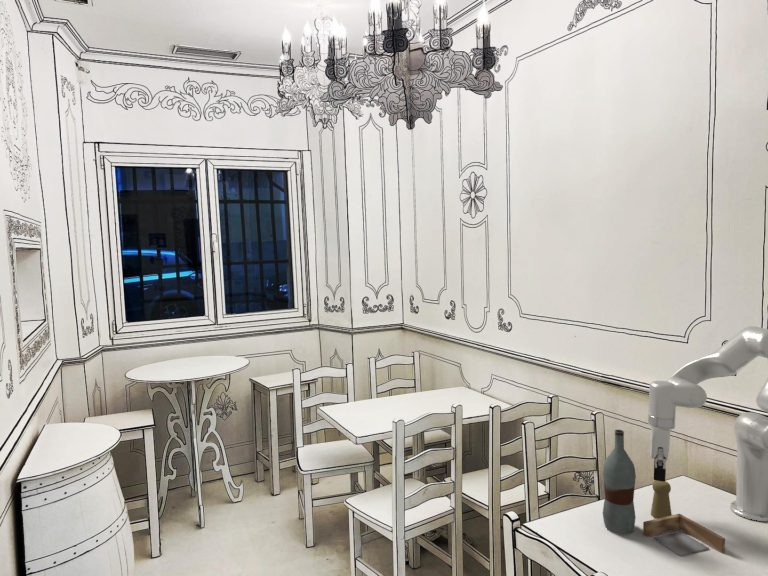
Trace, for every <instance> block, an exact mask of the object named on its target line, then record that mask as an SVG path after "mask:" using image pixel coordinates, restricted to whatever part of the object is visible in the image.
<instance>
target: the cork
mask: <svg viewBox="0 0 768 576" xmlns="http://www.w3.org/2000/svg"><path fill="white" fill-rule="evenodd" d="M652 490H653V497H652V503H651V509H650V516H651V517H652V518H654V519H658V518H663V517H667V516H671V515H673V514H672V509H671V501H670V493H671V490H672V487H671V484H670V483H669V482H668V481H666V480H665V482H663V481H657V480H654V481H653V482H652Z"/></svg>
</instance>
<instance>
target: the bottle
mask: <svg viewBox="0 0 768 576" xmlns="http://www.w3.org/2000/svg"><path fill="white" fill-rule="evenodd" d="M602 476H603V477H602V478H603V487H604V489H603V490H604V501H603V508H602V519H603V523H604V527H605V529H606V528H607V529H606V530H607V531H609V532H611V533H613V534H618V535H629V534H630V535H631V533H633V531H634V528H635V524H636V511H635V503H634V497H635V486H636V479H637V476H636V467H635V464H634V462H633V461H632V459H631V457H630V456H629V454H628V453H627V452H626V450H625V431H624V430H622V429H615V430H614V448H613V450H611V452H610V453H609V455H608V456H607V457H606V459H605V461H604V464H603V468H602Z"/></svg>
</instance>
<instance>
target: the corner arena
mask: <svg viewBox="0 0 768 576" xmlns="http://www.w3.org/2000/svg"><path fill="white" fill-rule="evenodd" d="M642 524H643V525H642V527H643V528H642V529H643V531H642V534H643V535H642V536H644V537H645V538H648V537H652V536H653V537H652V539H653V540H654V541H656V542H657V541H658V543H659V544H661V545H663V546H664V547H665V548H667V549H669V550H670V551H672V552H674V553H675V554H676V555H678V556H680V557H684V556H688V555H692V554H696V553H700V552H704V551H708V550H710V548H712V549H714V550H715V551H717V552H719V553H721V554H723V553H725V552H726V538H725V537H723V536H722V535H720V534H718V533H717V532H714V531H713V530H710V529H709V528H707V527H705V526H704V525H701V524H699V523H698V522H696V521H694V520H692V519H690V518H688V517H686V516H685V515H683V514H681V513H676V514H672V515H671V516H667V517H663V518H658V519H656V518H654V519H649V520H645V521H643V522H642ZM677 530H678V531H677ZM680 530H681V531H680ZM672 531H674V532H672ZM668 532H671V533H668ZM664 533H666V534H664ZM660 534H661V535H660ZM692 537H693V538H692ZM694 538H695V539H694ZM699 541H700V542H699ZM701 541H702V543H701ZM703 542H704V544H703ZM708 545H709V546H708ZM709 547H710V548H709Z"/></svg>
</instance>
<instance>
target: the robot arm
mask: <svg viewBox="0 0 768 576" xmlns="http://www.w3.org/2000/svg"><path fill="white" fill-rule="evenodd" d="M757 357H762V358H765V359H768V328H764V327H759V326H747V327H746V326H745V327H744V328H743V329H741V330H740V331H738V332H737V333H736V334H735V335H734V336H732V337H731V338H730V339H728V341H726V342H725V343H724V344H723V345H721V346H720V347H719V348H717V349H716V350H715V351H714V352H712V353H711V354H709V355H705V356H703V357H701V358H698V359H696V360H693V361H690V362H689V363H687V364H685V365H684V366H682V367H681V368H679V369H678V370H677V371H675V373H673V374H672V375H671V376H670V377H669V378H668V379H667V380H654V381H652V382H650V384H649V391H648V392H649V393H648V395H649V396H648V418H647V422H648V423H647V424H648V426H649V427H651V428H650V431H651V432H650V452H649V453H650V454H649V458H650V459H651V460H653V459H654V461H653V463H654V464H653V480H654V481H656V480H657V481H663V482H665V481H666V473H667V472H666V470H667V468H666V463H667V461H668V459H669V453H670V452H669V451H670V444H671V442H670V441H671V430H675V428H676V414H677V413H676V411H677V407H680V408H687V409H697V408H701V407H703V406H704V405H705V404H706V402H707V400H708V399H707V398H708V396H707V395H708V394H707V393H706V392H707V391H706V390H705V389H704V388H703V387H702V386H700V385H699V384H700V383H702V382H704V381H706V380H710V379H716V378H727V377H731V376H735V375H736V374H738V373H739V372H740V371H742V369H744V368H745V367H746V366H748V364H750V363H751V362H752V361H754V360H755V359H756V358H757ZM755 402H756V405H757V407H758V408H759V409H760V410H762V411H764V412H765V413H767V414H768V377H767V379H766V381H765V382H764V383H763V385H762V386H761V388H760V390H759V392H758V394H757V395H756V399H755ZM733 426H734V427H733V428H734V429H733V430H734V436H735V440H736V441H735V442H736V490H735V497H736V498H735V500H733V501H731V503H730V506H729V507H730V510H731V511H732V512H733V513H734V514H736V515H738V516H740V517H742V518H744V517H745V519H749V520H751V519H752V520H753V521H756V520H757V521H758V522H768V417H767V416H765V415H763V414H760V413H757V412H751V411H749V412H747V411H746V412H743V413H741V414H739V416H738V417H737V418H736V419H735V421H734V425H733Z"/></svg>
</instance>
